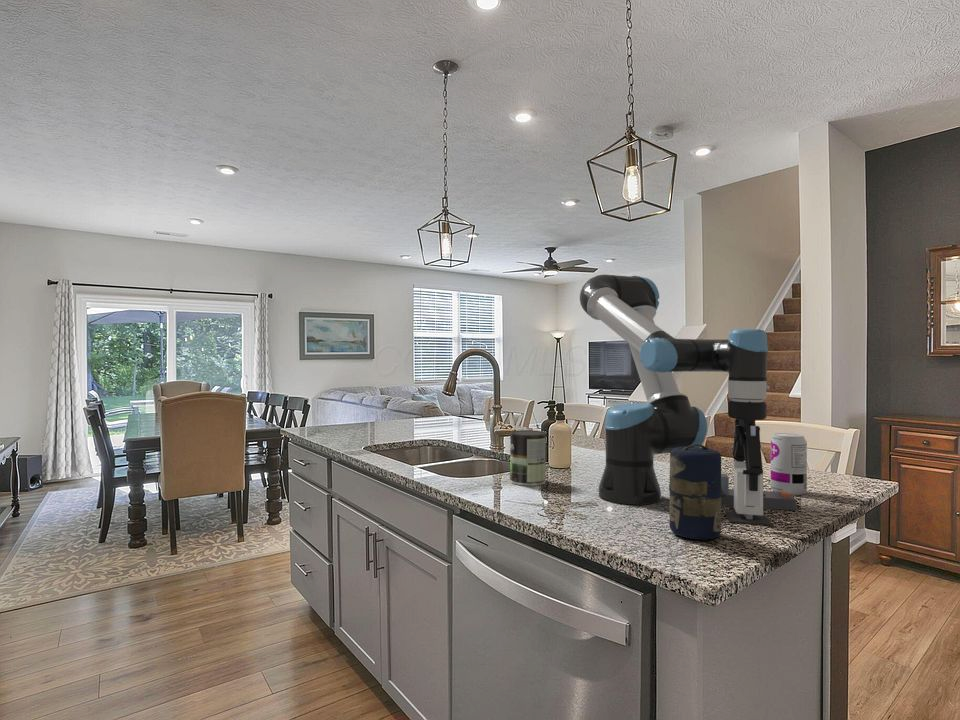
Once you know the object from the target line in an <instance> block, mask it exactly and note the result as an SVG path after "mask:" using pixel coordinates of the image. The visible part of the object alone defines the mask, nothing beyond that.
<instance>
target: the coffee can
mask: <svg viewBox="0 0 960 720" xmlns="http://www.w3.org/2000/svg"><path fill="white" fill-rule="evenodd" d="M509 436H510V437H509V438H510V439H509V444H510V445H509V448H510V450H509V453H510V454H509V456H510V457H509V462H510V463H509V483H511V484H513V485H517V486H522V487H523V486H525V487H536V486H542V485H545V484H546V482H547V481H546V449H547V447H546V442H547V441H546V439H547V432H545V431H542V430H535V429H534V430H533V429H528V430H527V429H525V430H524V429H523V430H522V429H520V430H512V431H510V432H509Z"/></svg>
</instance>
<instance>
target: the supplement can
mask: <svg viewBox="0 0 960 720" xmlns="http://www.w3.org/2000/svg"><path fill="white" fill-rule="evenodd" d="M807 447H808V445H807V440H806V438H805V436H804V435H803V434H797V433H785V432H784V433H781V432H776V433H773V434H772V436H771V438H770V489H771V490H772V491H773V490H774V491H773V492H780V491H786V492H789V493H790V494H791V496H802V495H801V494H803V495H804V494H805V493H807V491H808V483H807V482H808V460H807V459H808V448H807Z"/></svg>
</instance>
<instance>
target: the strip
mask: <svg viewBox="0 0 960 720" xmlns="http://www.w3.org/2000/svg"><path fill="white" fill-rule="evenodd" d="M729 483H730V477H729V475H728V474H727V473H721V506H727V507H734V488H730V486H729V485H730V484H729ZM763 509H766V510H767V509H768V510H769V509H770V510H782V511H783V510H784V511H795V510H796V511H797V499H796V498H795V497H794V495H791V494H790V493H789V492H786V491H780V492H775V491H769V490H768V491H767V490H765V491H764V490H763Z"/></svg>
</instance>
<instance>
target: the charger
mask: <svg viewBox="0 0 960 720" xmlns="http://www.w3.org/2000/svg"><path fill="white" fill-rule="evenodd" d="M743 470H746V468H734V467H733V489H734V506H733V510H734V511H735V512H737V514H744V516H745V518H746V519H752V520H753V515H763V514H764V508H763V491H764V472H763V473H762V474H760V507H756V506H745V474H743Z"/></svg>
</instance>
